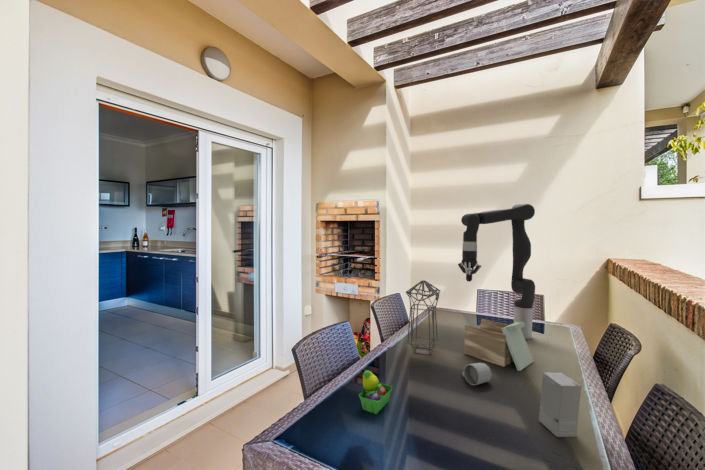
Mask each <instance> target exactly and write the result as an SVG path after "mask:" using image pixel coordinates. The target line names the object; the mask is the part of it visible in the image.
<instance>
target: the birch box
mask: <svg viewBox="0 0 705 470" xmlns="http://www.w3.org/2000/svg"><path fill="white" fill-rule="evenodd" d="M480 320H481V322H480V323H479V324H480V326H479V327H480V328H479V327H476V326H472V325H469V324H468V325H467V324H464V351H463V352H464V353H463V354H465V355H467V356H470V357H473V358H477V359H480V360H482V361H485V362H488V363H492V364H494V365H498V366H500V367H504V368H505V367H507V366H509V365H510V364H511V363H514V360H513V358H512V355H511V353H510V350H509V347H508V345H507V342H506V340H505V338H506V335H503V332H502V328H504V327H506V326H508V325H509V324H507V323H501V322H496V321H492V320H488V319H485V318H481V319H480ZM495 332H497V333H495ZM499 333H501V334H499Z"/></svg>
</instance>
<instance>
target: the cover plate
mask: <svg viewBox="0 0 705 470" xmlns="http://www.w3.org/2000/svg"><path fill="white" fill-rule="evenodd" d="M507 325H508V326H506V327H504V328H502V332H503V335H506V338H505V340H506V342H507V345H508V347H509V350H510V353H511V355H512V358H513V360H514V361H513V363H514V365H515V368H516V370H517V372H521V371H523V370H524V369H525V368H527V367H528V366H529V365H531V364H532V363H533V362H535V360H534V358H533V355H532V353H531V351H530V348H529V346H528V343H527V341H526V339H525V338H524V336H523V333H522V331H521V328H522V327H524V326H525V324H524V322H519V323H518V322H515V323H514V322H513V323H511V324H507Z"/></svg>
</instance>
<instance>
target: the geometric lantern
mask: <svg viewBox="0 0 705 470" xmlns="http://www.w3.org/2000/svg"><path fill="white" fill-rule="evenodd" d="M418 286H419V287H418ZM417 287H418V288H417ZM425 287H426V288H427V290H425ZM413 290H414V291H416V292H413ZM440 292H441V289H439V288H437V287H436V286H434V285H433V284H431V283H429V282H428V281H427V280H424V279H422V280H420V281H419V282H417V283H416V284H415V285H414V286H412V287H411V288H409V289H407V290H406V291H405V294H406V295H407V297H408V299H409V319H408V329H407V330H408V331H407V341H406V342H407V344H408V345H410V346H411V348H413V353H414V354H418V355H419V354H420V355H426V356H430V355H432V352H433V349H434V348H435V347H436V345H437V344H438V341H439V339H438V338H439V337H438V326H437V325H438V324H437V305H438V302H439V299H440ZM427 293H429V294H427ZM414 295H415V296H416V297H415V296H414ZM418 295H420V296H421V297H420V299H419V298H418ZM434 296H435V299H434V300H433V302H432V301H431V297H434ZM424 297H425V298H424ZM414 299H415V301H414ZM427 299H429V302H430V304H431V305H430V304H427V303H426V300H427ZM411 301H412V302H411ZM421 301H422V302H424V306H426V308H427V309H423V308H419V306H423V304H421V303H420V302H421ZM416 302H417V303H416ZM412 303H413V304H412ZM434 304H435V305H434ZM415 307H416V308H415ZM430 307H431V308H430ZM415 310H416V318H415ZM419 311H427V312H428V318H427V319H428V337H424V336H423V337H422V336H418V320H419V318H418V317H419ZM430 311H431V319H430ZM415 319H416V320H415ZM430 320H432V321H431V322H432V337H431V322H430ZM415 321H416V325H415V336H413V335H414V322H415ZM435 334H436V335H435ZM435 336H436V338H435ZM417 338H418V339H425V340H428V343H422V344H421V343H418V339H417ZM431 340H432V341H431ZM432 343H433V344H432ZM417 350H421V351H428V353H424V352H423V353H422V352H417Z"/></svg>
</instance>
